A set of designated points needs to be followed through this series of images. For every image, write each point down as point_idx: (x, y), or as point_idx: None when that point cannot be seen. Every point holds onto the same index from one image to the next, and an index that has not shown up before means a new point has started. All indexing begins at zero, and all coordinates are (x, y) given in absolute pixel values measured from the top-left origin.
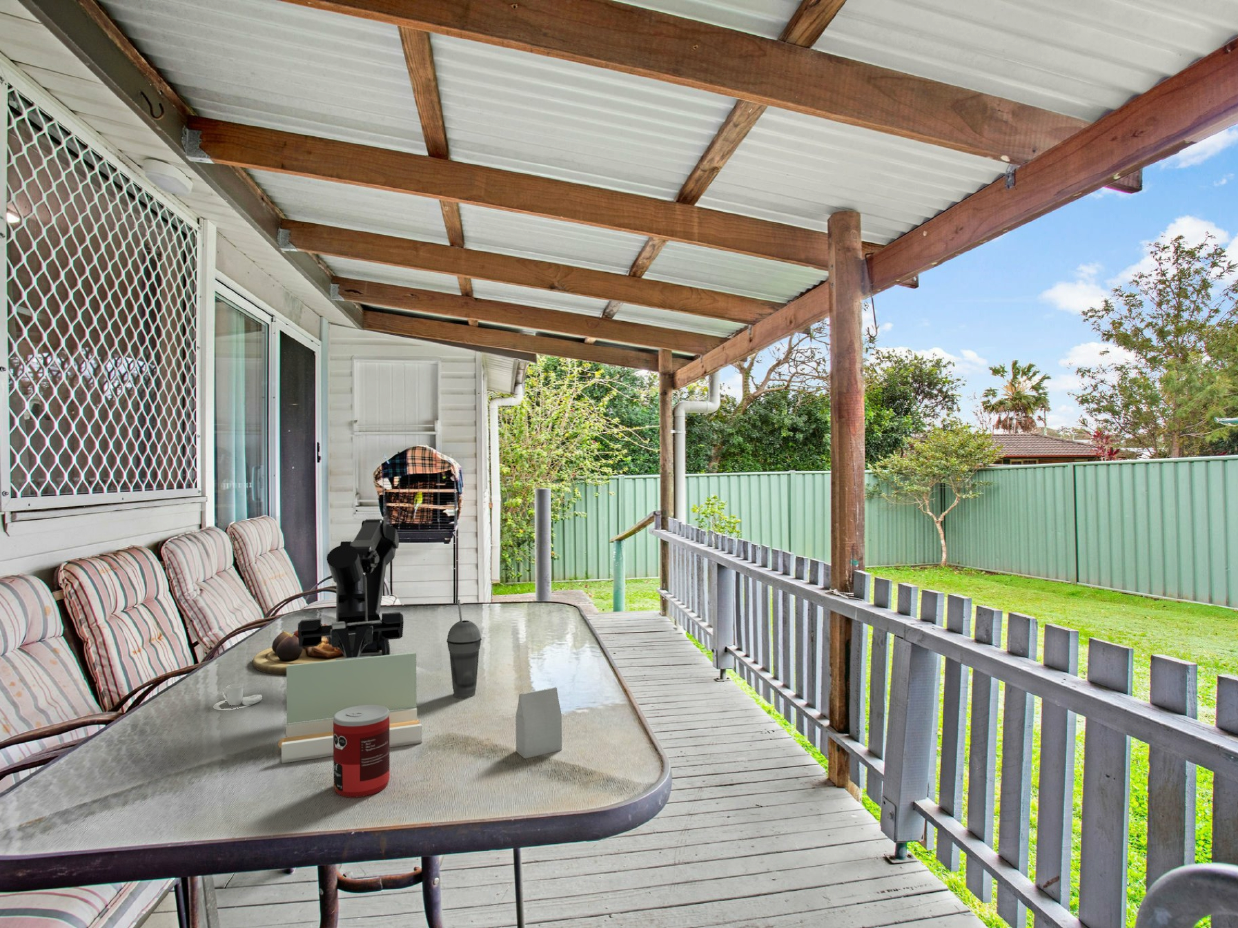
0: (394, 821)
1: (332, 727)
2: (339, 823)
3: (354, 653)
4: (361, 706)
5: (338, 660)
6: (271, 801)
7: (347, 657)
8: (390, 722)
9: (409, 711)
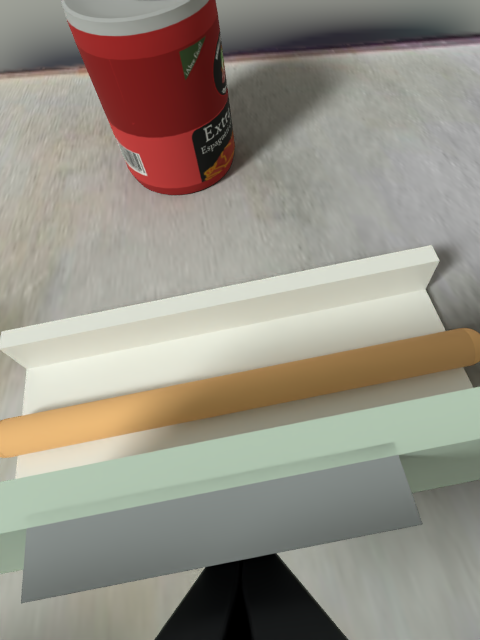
0: None
1: None
2: None
3: (207, 628)
4: (137, 16)
5: (361, 438)
6: (344, 127)
7: (295, 583)
8: None
9: None
